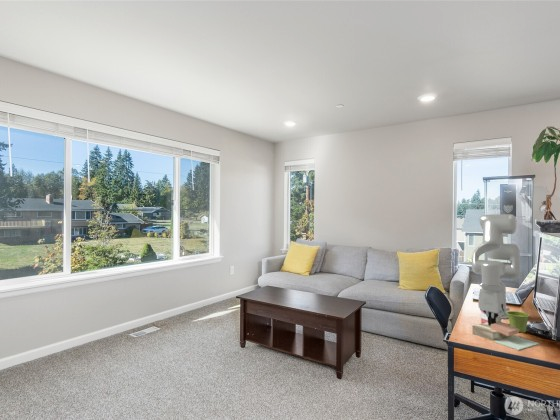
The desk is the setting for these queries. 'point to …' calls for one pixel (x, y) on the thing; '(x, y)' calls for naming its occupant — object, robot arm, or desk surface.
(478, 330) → the block
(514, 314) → the plant pot
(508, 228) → the robot arm
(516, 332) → the coaster
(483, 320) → the ink cartridge box
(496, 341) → the mat
